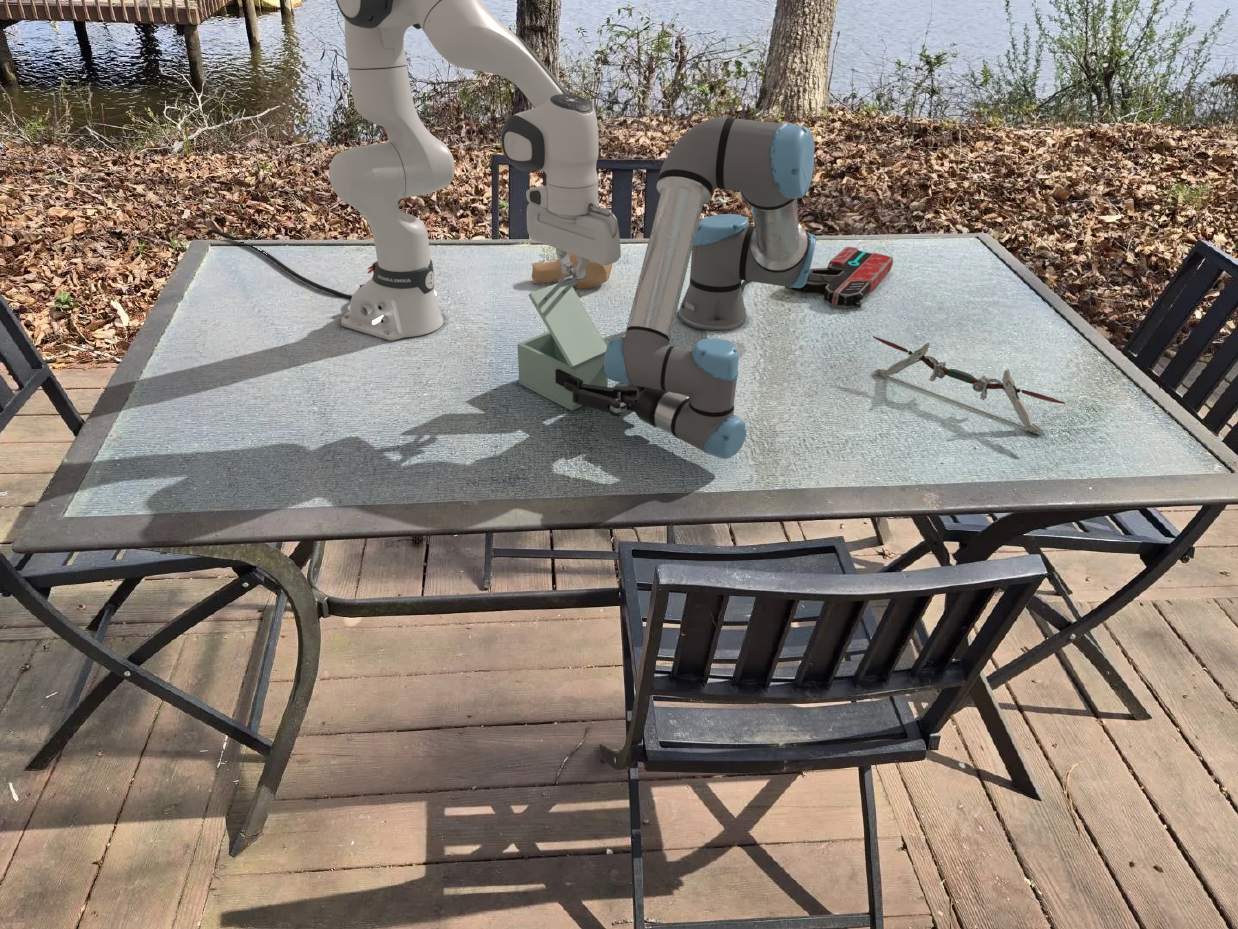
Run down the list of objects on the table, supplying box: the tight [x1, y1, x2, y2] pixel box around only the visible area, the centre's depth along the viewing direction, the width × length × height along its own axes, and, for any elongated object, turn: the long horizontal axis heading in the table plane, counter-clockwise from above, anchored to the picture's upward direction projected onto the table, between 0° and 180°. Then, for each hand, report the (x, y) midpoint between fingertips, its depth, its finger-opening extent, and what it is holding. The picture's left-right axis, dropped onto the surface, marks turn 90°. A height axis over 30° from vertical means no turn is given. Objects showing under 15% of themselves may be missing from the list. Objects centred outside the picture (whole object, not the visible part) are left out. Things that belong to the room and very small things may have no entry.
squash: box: [531, 253, 613, 289], centre depth 215 cm, size 11×20×9 cm, turn 90°
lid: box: [527, 272, 608, 368], centre depth 160 cm, size 16×10×8 cm
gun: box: [784, 246, 894, 309], centre depth 220 cm, size 4×31×19 cm
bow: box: [872, 335, 1066, 435], centre depth 169 cm, size 39×2×10 cm, turn 47°
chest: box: [517, 330, 609, 412], centre depth 170 cm, size 15×10×9 cm, turn 47°
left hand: (573, 275), depth 157 cm, fingers closed
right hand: (576, 366), depth 167 cm, fingers closed on chest, 10 cm apart
